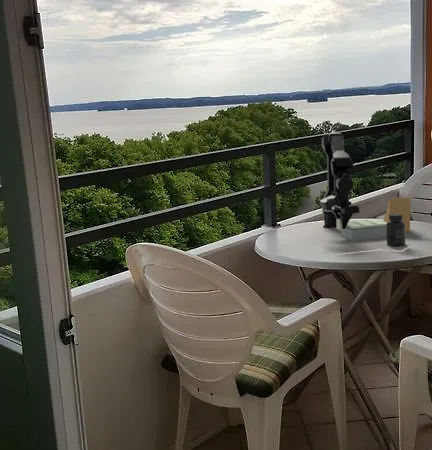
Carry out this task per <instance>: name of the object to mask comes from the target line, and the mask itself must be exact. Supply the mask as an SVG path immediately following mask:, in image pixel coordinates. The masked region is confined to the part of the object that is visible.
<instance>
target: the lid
mask: <svg viewBox="0 0 432 450" xmlns="http://www.w3.org/2000/svg"><path fill="white" fill-rule="evenodd" d="M386 224H387V222H384V221H383V220H380V219H378V218H377V219H376V218H375V219H364V220H356V221H355V220H353V221H349V222H348V224H347V226H346V228H345V229H347V228H350V229H359V228H369V227H378V226H386ZM336 229H337V230H339V231H341V230H345V229H342V222H341V218H338V219H337V227H336Z"/></svg>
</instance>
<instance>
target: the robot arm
mask: <svg viewBox="0 0 432 450" xmlns="http://www.w3.org/2000/svg"><path fill="white" fill-rule="evenodd" d="M344 144H345V143H344V135H343V134H342V133H341V132H330V133H328V134H327V135H326V134H325V135H323V136H322V138H321V146H322V147H323V151H324V153H325V155H326V157H327V159H326V160H327V161H326V162H327V163H326V165H327V166H326V167H327V170H326V171H327V173H326V174H327V190H326V191H325V193H324V195H323V199H321V200H319V202H320V206H321V213H322V215H324V216H323V217H324V219H323V220H324V221H323V222H324V225H323V226H322V227H323V228H330V229H333V228H337V219H338V218H341V222H342V229H345V228H346V226H347V224H348V222H350V219H351V218H352V216H353V215H354V214H359V213H360V207H359V206H358V205H357V204H352V201H350V195H352V190H353V189H354V181H353V180H352V178H350V176H353V175H354V173H355V166H354V162H353V160H352V159H351V158H350V155H349V153H347V152H346V151H345V148H344Z"/></svg>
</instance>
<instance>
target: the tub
mask: <svg viewBox="0 0 432 450" xmlns="http://www.w3.org/2000/svg"><path fill="white" fill-rule="evenodd" d="M340 237H342V238H345V239H347V240H350V241H352V242H353V241H361V240H371V239H379V238H381V239H382V238H387V235H386V226H378V227H371V228H359V229H350V228H347V229H345V230H340Z"/></svg>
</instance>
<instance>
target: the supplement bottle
mask: <svg viewBox="0 0 432 450" xmlns="http://www.w3.org/2000/svg"><path fill="white" fill-rule="evenodd" d="M402 219H403V218H402V214H389V220H390V221H389V222H387V224H386V235H387V237H386V246H389V247H395V248H397V247H399V248H400V247H405V246H406V232H405V223H404V222H403V221H402Z"/></svg>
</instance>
